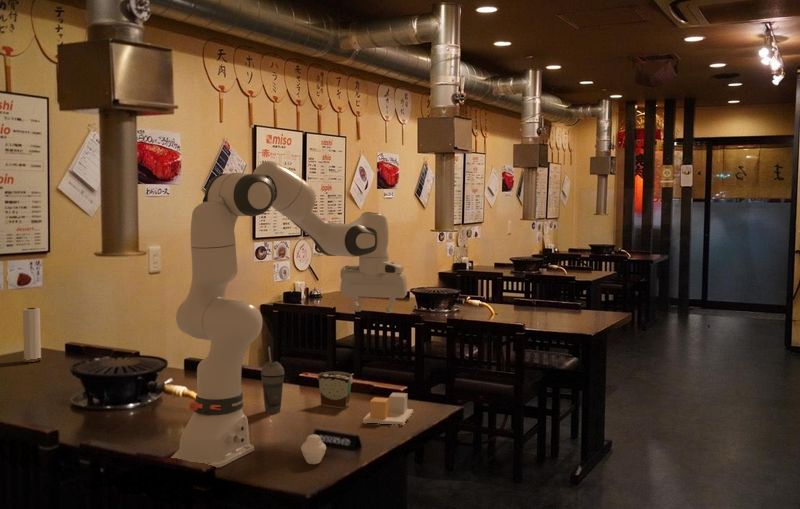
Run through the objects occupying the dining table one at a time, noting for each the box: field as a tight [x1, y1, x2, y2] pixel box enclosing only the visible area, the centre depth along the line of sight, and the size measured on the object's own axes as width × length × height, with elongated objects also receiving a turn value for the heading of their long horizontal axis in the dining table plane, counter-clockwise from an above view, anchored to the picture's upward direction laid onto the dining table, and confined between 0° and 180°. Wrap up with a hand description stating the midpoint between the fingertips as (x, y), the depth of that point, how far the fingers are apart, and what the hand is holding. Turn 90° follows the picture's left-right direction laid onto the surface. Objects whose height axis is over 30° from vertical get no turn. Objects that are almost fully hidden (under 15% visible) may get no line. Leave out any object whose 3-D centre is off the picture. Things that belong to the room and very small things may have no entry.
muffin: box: [300, 433, 327, 465], centre depth 186 cm, size 6×6×7 cm
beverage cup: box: [260, 346, 286, 415], centre depth 230 cm, size 7×7×20 cm
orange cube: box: [369, 396, 389, 419], centre depth 222 cm, size 5×5×5 cm
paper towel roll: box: [22, 307, 42, 360], centre depth 299 cm, size 7×6×21 cm
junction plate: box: [362, 392, 414, 426], centre depth 225 cm, size 14×12×6 cm
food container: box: [316, 371, 354, 410], centre depth 240 cm, size 12×6×10 cm, turn 63°
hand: (373, 311), depth 228 cm, fingers open, 8 cm apart
